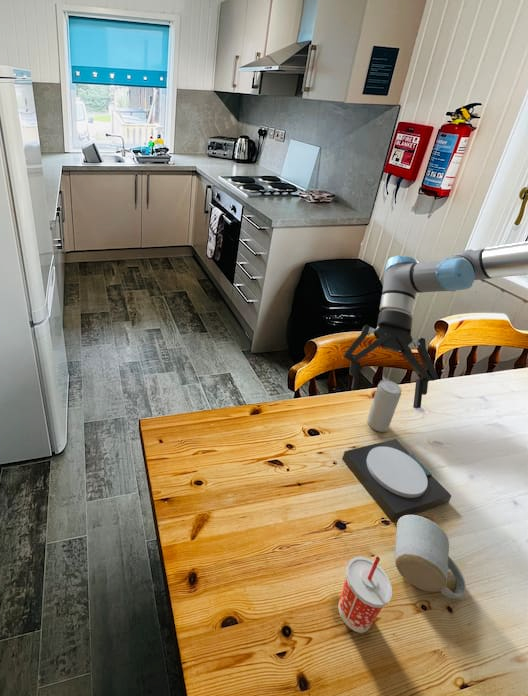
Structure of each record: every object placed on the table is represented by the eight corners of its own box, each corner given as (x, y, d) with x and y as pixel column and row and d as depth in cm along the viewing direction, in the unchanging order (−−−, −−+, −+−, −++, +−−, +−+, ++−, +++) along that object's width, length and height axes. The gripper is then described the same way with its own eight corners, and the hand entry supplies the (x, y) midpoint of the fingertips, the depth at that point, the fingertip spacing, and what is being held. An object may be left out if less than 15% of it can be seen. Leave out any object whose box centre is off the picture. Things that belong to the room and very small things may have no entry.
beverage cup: (384, 621, 60) (411, 566, 54) (360, 649, 57) (387, 594, 51) (348, 582, 65) (370, 527, 59) (324, 605, 61) (345, 550, 56)
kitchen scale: (448, 503, 78) (453, 492, 77) (391, 521, 74) (396, 509, 73) (392, 446, 90) (397, 435, 89) (341, 459, 86) (345, 447, 85)
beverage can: (377, 415, 99) (390, 377, 94) (392, 430, 95) (407, 391, 90) (361, 419, 97) (374, 381, 92) (376, 435, 93) (390, 395, 88)
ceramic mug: (388, 575, 66) (402, 547, 63) (391, 532, 72) (404, 505, 69) (464, 618, 61) (483, 590, 58) (460, 568, 67) (477, 540, 64)
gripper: (446, 330, 100) (439, 416, 93) (341, 306, 108) (327, 383, 101) (458, 323, 93) (451, 415, 86) (345, 298, 101) (331, 380, 95)
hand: (384, 398), depth 94 cm, fingers open, 13 cm apart
